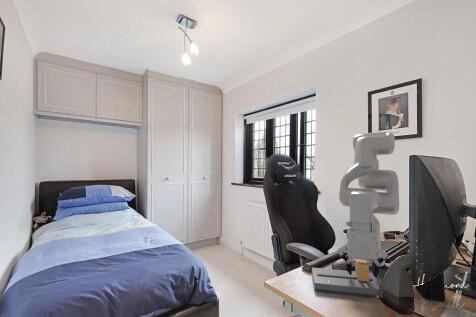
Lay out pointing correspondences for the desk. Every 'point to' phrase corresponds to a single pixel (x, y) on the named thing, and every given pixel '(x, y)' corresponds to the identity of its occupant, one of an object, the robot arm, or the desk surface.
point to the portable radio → (433, 288)
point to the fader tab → (362, 270)
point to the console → (343, 283)
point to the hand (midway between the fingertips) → (362, 273)
